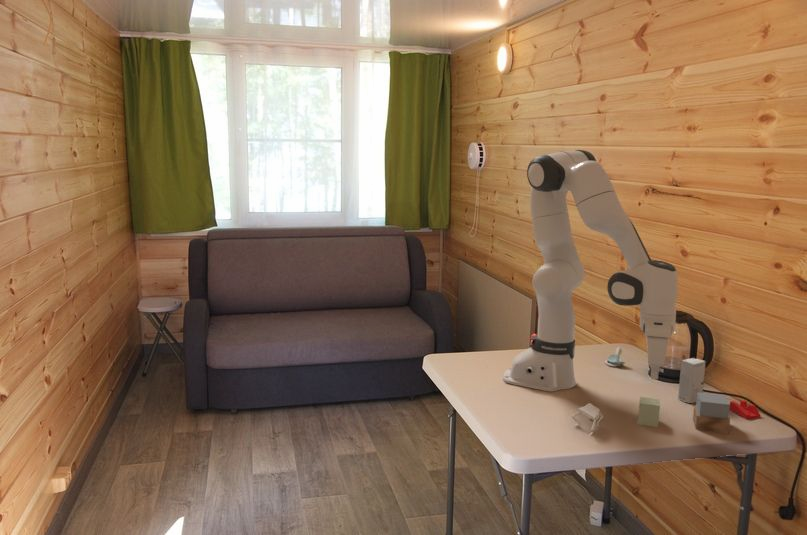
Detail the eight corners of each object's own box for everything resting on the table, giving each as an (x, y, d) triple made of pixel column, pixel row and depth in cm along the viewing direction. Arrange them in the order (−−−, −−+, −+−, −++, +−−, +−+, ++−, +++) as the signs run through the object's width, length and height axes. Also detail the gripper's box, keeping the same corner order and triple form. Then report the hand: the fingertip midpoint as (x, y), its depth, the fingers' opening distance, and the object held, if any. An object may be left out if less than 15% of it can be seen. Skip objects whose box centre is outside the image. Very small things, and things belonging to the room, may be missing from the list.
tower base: (695, 430, 180) (696, 415, 179) (692, 418, 188) (694, 405, 187) (728, 434, 178) (730, 420, 177) (724, 423, 185) (726, 409, 184)
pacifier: (608, 368, 228) (626, 368, 228) (609, 350, 227) (626, 350, 227) (602, 361, 236) (619, 361, 235) (602, 344, 234) (620, 343, 234)
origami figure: (564, 419, 184) (566, 402, 184) (594, 419, 186) (595, 402, 185) (581, 438, 173) (583, 420, 172) (613, 437, 174) (614, 419, 173)
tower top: (699, 415, 180) (701, 401, 179) (696, 406, 186) (697, 392, 185) (728, 419, 178) (729, 404, 177) (723, 409, 184) (725, 395, 184)
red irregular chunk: (728, 411, 193) (730, 401, 193) (742, 410, 195) (744, 400, 194) (745, 420, 187) (747, 410, 187) (760, 418, 189) (761, 408, 188)
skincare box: (690, 404, 197) (694, 364, 195) (676, 399, 201) (680, 360, 199) (702, 400, 201) (707, 361, 198) (689, 395, 204) (693, 356, 202)
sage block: (638, 424, 182) (640, 403, 181) (638, 417, 187) (640, 396, 186) (657, 427, 181) (659, 405, 180) (657, 420, 186) (659, 399, 184)
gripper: (644, 312, 189) (641, 360, 192) (644, 331, 170) (641, 383, 173) (668, 314, 187) (665, 362, 190) (671, 333, 168) (667, 386, 171)
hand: (653, 372), depth 181 cm, fingers open, 8 cm apart
